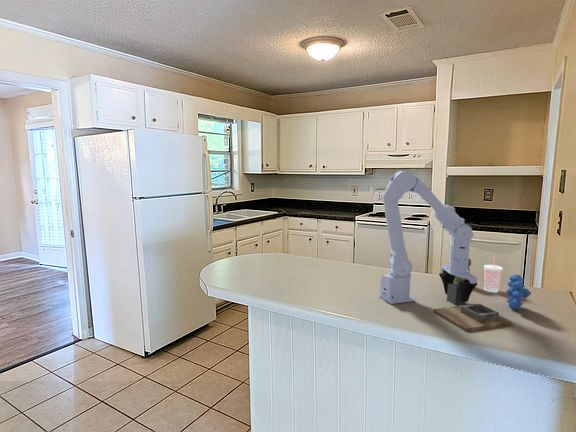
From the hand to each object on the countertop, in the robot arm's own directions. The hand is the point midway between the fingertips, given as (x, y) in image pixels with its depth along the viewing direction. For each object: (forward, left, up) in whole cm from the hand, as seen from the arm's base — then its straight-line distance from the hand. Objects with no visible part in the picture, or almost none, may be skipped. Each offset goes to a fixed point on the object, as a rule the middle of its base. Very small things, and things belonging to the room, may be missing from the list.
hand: (456, 297), depth 120 cm
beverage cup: (+21, +6, -2) cm, 22 cm away
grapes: (+14, -11, -2) cm, 18 cm away
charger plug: (0, 0, -2) cm, 2 cm away
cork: (+15, +14, -2) cm, 21 cm away
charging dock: (-5, -12, -2) cm, 13 cm away
